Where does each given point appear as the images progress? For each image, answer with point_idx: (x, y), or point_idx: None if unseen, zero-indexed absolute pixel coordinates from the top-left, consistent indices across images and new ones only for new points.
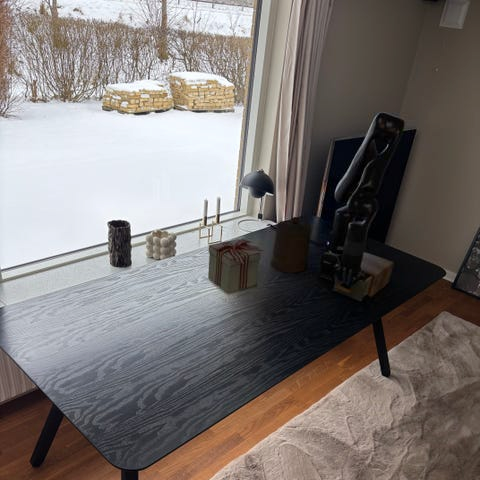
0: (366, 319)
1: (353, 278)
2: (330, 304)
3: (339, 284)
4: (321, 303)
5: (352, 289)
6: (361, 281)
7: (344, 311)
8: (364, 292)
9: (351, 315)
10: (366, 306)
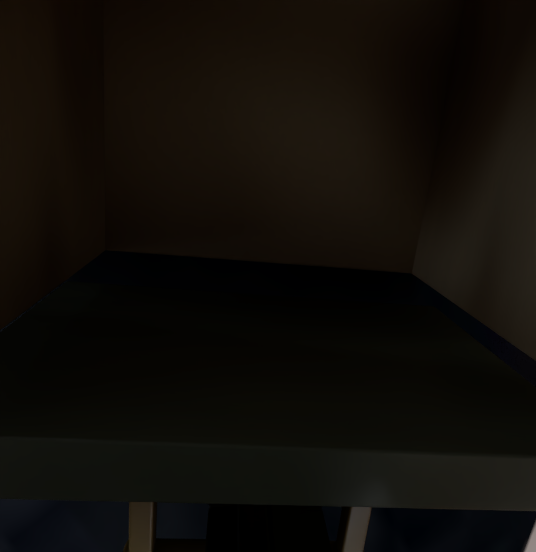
0: (522, 521)
1: (328, 481)
2: (185, 511)
3: (141, 517)
4: (114, 545)
5: (365, 524)
6: (517, 491)
7: (332, 530)
8: (490, 357)
9: (402, 544)
10: (477, 338)
